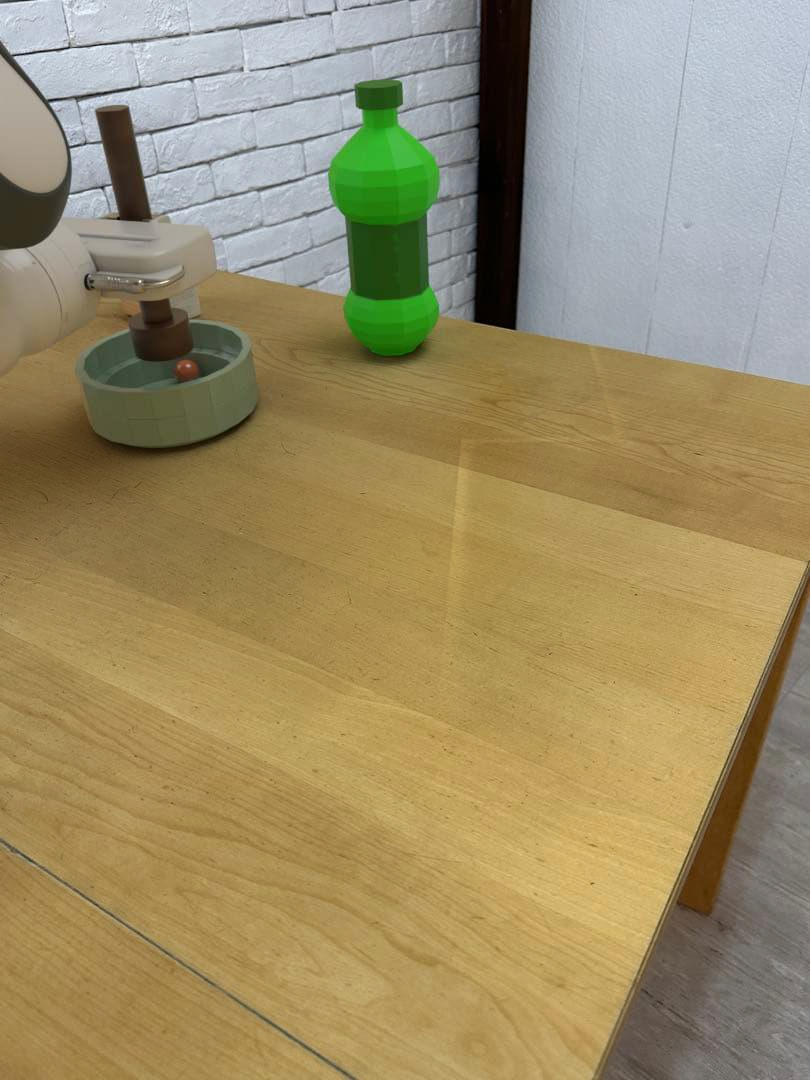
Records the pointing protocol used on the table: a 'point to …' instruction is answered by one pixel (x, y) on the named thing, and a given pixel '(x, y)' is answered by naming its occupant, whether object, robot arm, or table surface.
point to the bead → (186, 371)
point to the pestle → (158, 323)
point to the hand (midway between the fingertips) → (143, 223)
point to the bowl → (168, 388)
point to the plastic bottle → (386, 224)
